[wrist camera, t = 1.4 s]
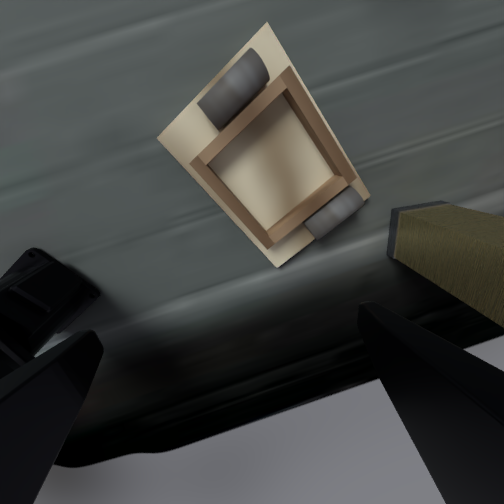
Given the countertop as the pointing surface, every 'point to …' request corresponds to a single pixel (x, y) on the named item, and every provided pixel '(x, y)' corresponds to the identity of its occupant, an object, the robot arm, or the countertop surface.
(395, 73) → the countertop surface
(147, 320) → the countertop surface
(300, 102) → the wooden fixture board
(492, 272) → the tall brass pillar
